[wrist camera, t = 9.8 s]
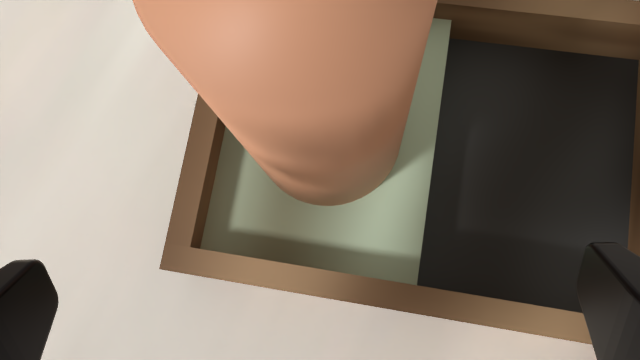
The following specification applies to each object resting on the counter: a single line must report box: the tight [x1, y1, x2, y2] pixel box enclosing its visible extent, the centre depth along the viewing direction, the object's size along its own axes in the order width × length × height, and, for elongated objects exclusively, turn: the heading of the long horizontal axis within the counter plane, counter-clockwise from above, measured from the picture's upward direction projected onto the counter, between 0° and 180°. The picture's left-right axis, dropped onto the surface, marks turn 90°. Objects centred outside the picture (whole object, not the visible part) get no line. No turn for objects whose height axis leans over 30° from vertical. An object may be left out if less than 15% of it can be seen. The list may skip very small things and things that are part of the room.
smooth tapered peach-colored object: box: [133, 0, 437, 206], centre depth 13 cm, size 5×5×10 cm
